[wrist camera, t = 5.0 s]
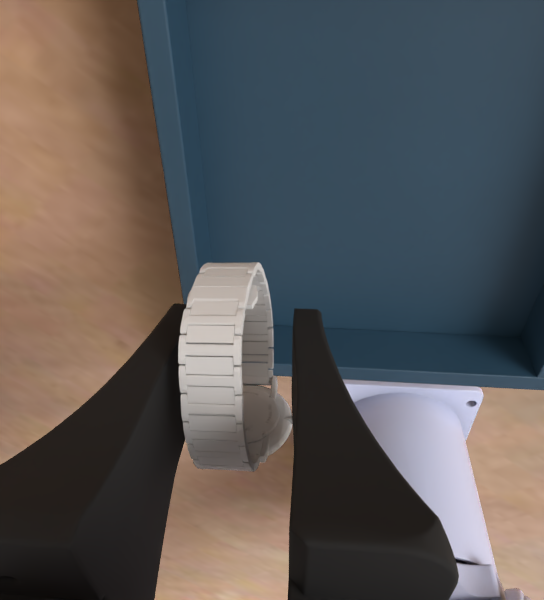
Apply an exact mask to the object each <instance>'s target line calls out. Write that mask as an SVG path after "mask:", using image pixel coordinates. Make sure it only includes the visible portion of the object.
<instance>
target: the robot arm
mask: <svg viewBox="0 0 544 600" xmlns="http://www.w3.org/2000/svg"><path fill="white" fill-rule="evenodd" d="M186 305H187V304H174V305H173V306H171V308H170V309H169V310H168V312H167V313H166V314H165V316H164V317H163V318H162V320H161V321H160V322H159V323H158V325H157V326H156V327H155V329H154V330H153V331H152V332H151V334H150V335H149V336H148V337H147V339H146V340H145V341H144V342H143V343H142V344H141V346H140V347H139V348H138V349H137V350H136V352H135V353H134V354H133V355H132V356H131V357H130V359H129V360H128V361H127V362H126V363H125V364H124V365H123V366H122V367H121V368H120V369H119V370H118V371H117V372H116V374H115V375H114V376H113V377H112V378H111V379H110V380H109V381H108V382H107V383H106V384H105V385H104V386H103V387H102V388H101V389H100V390H99V391H98V392H97V393H96V394H94V395H93V396H92V397H91V398H90V399H89V400H88V401H87V402H86V403H85V404H83V405H82V406H81V407H80V408H79V409H78V410H76V411H75V412H74V413H73V414H72V415H70V416H69V417H68V418H67V419H65V420H64V421H63V422H62V423H61V424H59V425H58V426H57V427H55V428H54V429H53V430H52V431H50V432H49V433H48V434H46V435H45V436H43V437H42V438H41V439H39V440H38V441H36V442H35V443H33V444H32V445H30V446H29V447H27V448H26V449H25V450H23V451H22V452H20V453H19V454H17V455H16V456H14V457H13V458H11V459H9V460H8V461H6V462H5V463H3V464H1V465H0V600H154V598H155V591H156V584H157V577H158V571H159V564H160V558H161V551H162V545H163V539H164V533H165V527H166V521H167V516H168V510H169V504H170V499H171V494H172V488H173V483H174V478H175V474H176V470H177V466H178V462H179V458H180V455H181V451H182V448H183V445H184V441H185V435H184V430H183V422H184V421H182V416H181V394H182V393H181V392H180V386H179V366H180V365H185V364H179V363H178V346H179V337H180V335H181V333H180V327H181V322H182V317H183V312H184V309H186ZM483 396H484V395H483V392H482V389H481V388H479V387H476V386H457V385H439V384H420V383H402V382H383V381H364V380H346V379H342V377H341V375H340V373H339V370H338V368H337V365H336V363H335V361H334V358H333V356H332V353H331V350H330V347H329V344H328V341H327V338H326V335H325V331H324V327H323V322H322V315H321V312H320V311H319V310H318V309H298V308H294V317H293V338H292V413H293V435H294V463H293V480H292V496H291V512H290V527H289V585H288V600H531V599H530V598H529V597H527V596H524V594H523V592H522V590H520V589H517V588H514V589H506V590H505V591H504V589H503V587H502V584H501V582H500V580H499V578H498V574H497V570H496V566H495V562H494V557H493V553H492V549H491V545H490V541H489V537H488V533H487V529H486V524H485V520H484V516H483V512H482V508H481V504H480V500H479V496H478V492H477V487H476V483H475V479H474V475H473V471H472V467H471V463H470V459H469V454H468V450H467V446H466V442H465V441H466V439H467V437H468V434H469V432H470V429H471V427H472V424H473V422H474V419H475V417H476V414H477V412H478V409H479V407H480V405H481V402H482V400H483Z"/></svg>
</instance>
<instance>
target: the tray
mask: <svg viewBox="0 0 544 600" xmlns="http://www.w3.org/2000/svg"><path fill="white" fill-rule="evenodd" d="M137 4H138V10H139V17H140V23H141V30H142V36H143V43H144V49H145V56H146V62H147V69H148V75H149V82H150V88H151V95H152V101H153V108H154V114H155V121H156V127H157V134H158V140H159V147H160V153H161V159H162V166H163V172H164V179H165V185H166V192H167V198H168V205H169V211H170V218H171V224H172V231H173V237H174V244H175V250H176V257H177V263H178V270H179V276H180V283H181V289H182V296H183V302H184V304H187V297H188V294H189V292H190V291H191V289H192V287H193V284H194V282H195V279H196V277H197V275H198V274H200V273H199V271H200V268H201V267H202V266H203V265H204V264H206V263H253V262H259V263H260V264H261V265H262V268H263V269H264V273H265V277H266V279H267V283H268V288H269V292H270V299H271V308H272V317H273V337H274V347H269V348H273V349H274V367H273V369H268V370H273V376H290V377H292V338H293V317H294V308H298V309H318V310H319V311H320V312H321V315H322V322H323V327H324V331H325V335H326V338H327V341H328V344H329V347H330V350H331V353H332V356H333V358H334V361H335V363H336V365H337V368H338V370H339V373H340V375H341V377H342V379H346V380H364V381H383V382H402V383H420V384H439V385H457V386H476V387H495V388H513V389H532V390H544V0H137ZM256 355H268V354H256ZM242 363H261V362H242Z"/></svg>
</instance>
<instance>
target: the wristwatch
mask: <svg viewBox="0 0 544 600" xmlns="http://www.w3.org/2000/svg"><path fill="white" fill-rule="evenodd" d="M199 273H200V274H198V275H197V277H196V279H195V282H194V284H193V287H192V289H191V291H190V292H189V294H188V297H187V305H186V309H184V312H183V317H182V322H181V327H180V333H181V335H180V337H179V346H178V363H179V364H185V365H180V366H179V386H180V392H181V393H182V394H181V416H182V421H184V422H183V430H184V435H185V440H186V443H187V446H188V451H189V454H190V456H191V459H193V463H194V464H195V466H196V467H197V468H200V469H218V470H238V471H252V472H254V471H255V470H256V469H257V468H258V466H259V463H260V462H264V463H265V462H266V459H267V457H268V456H269V455H271V454H273V453H274V452H275V451H276V450H278V449H279V448H280V447H281V446H282V445H283V444H284V443H285V441H286V440H287V438H288V436H289V434H290V432H291V428H292V424H293V416H292V413H291V409H290V407H289V405H288V403H287V402H286V401H285V400H284V398H283V397H282V396H281V395H279V394H278V393H277V387H278V382H277V376H273V370H268V369H273V367H274V349H273V348H269V347H274V337H273V317H272V308H271V299H270V292H269V288H268V283H267V279H266V277H265V273H264V269H263V268H262V265H261V264H260V263H259V262H253V263H206V264H204V265H203V266H202V267H201V268H200V271H199ZM256 354H268V355H256ZM242 362H261V363H242ZM258 385H271V389H269V388H266V387H263V386H258Z"/></svg>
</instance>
